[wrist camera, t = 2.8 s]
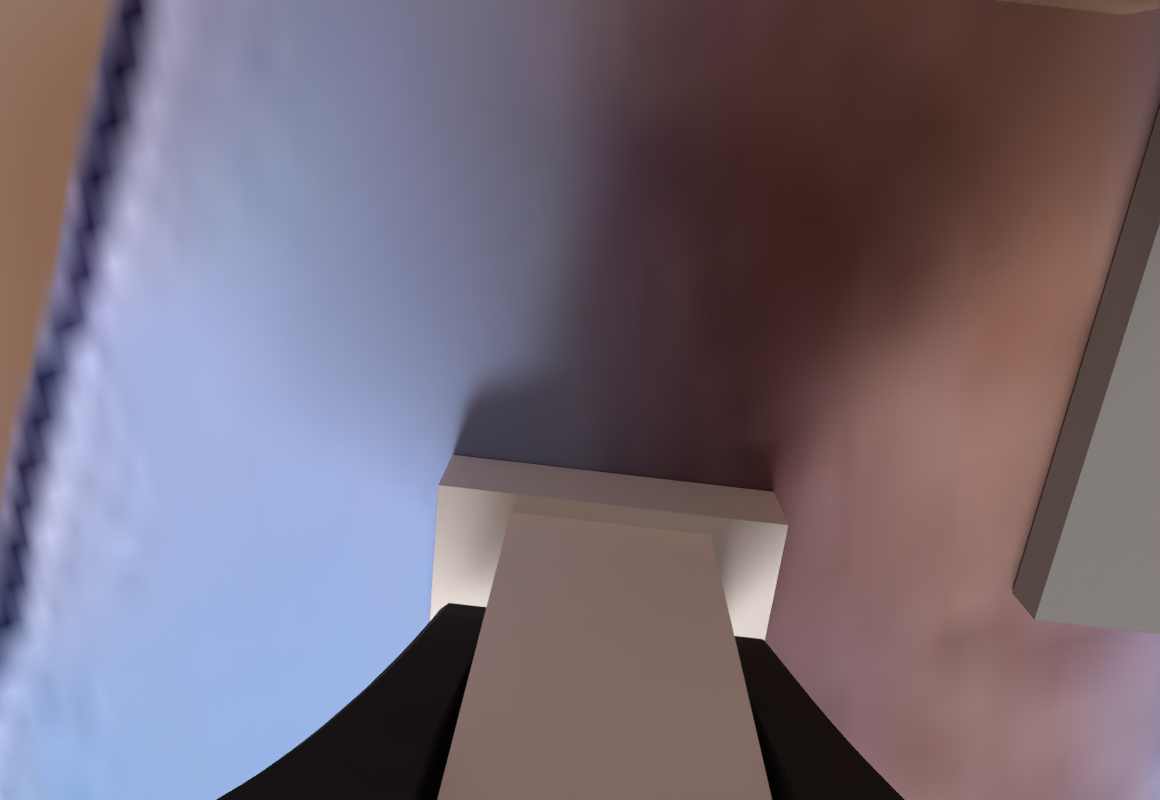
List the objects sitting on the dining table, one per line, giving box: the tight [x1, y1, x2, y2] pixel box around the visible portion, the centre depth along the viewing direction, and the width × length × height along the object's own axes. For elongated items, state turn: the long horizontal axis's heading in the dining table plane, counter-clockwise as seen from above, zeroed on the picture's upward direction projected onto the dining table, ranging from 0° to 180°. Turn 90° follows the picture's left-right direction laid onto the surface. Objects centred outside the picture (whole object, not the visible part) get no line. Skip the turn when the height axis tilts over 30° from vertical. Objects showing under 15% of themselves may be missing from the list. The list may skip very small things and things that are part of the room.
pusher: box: [430, 455, 788, 800], centre depth 10 cm, size 5×4×9 cm
